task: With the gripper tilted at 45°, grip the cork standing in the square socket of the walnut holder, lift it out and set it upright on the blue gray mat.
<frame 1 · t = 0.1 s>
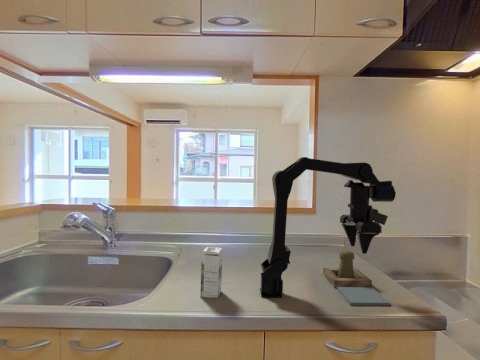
hand: (358, 249, 99), 15 cm above the counter, tool pointing down, fingers open, 9 cm apart
blue gray mat: (362, 296, 97), on the counter
walnut holder: (345, 280, 111), on the counter
syrup box: (211, 294, 97), on the counter
cork: (345, 281, 111), resting in walnut holder
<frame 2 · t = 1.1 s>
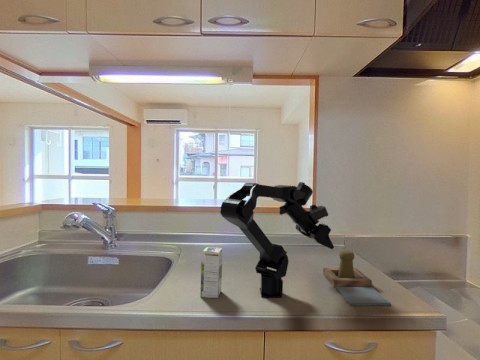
hand: (326, 245, 109), 13 cm above the counter, tool tilted 45°, fingers open, 9 cm apart
nothing on the counter moved.
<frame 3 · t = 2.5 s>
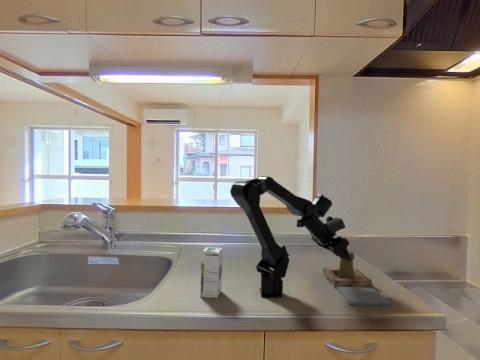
hand: (343, 256, 111), 9 cm above the counter, tool tilted 45°, fingers open, 9 cm apart
nothing on the counter moved.
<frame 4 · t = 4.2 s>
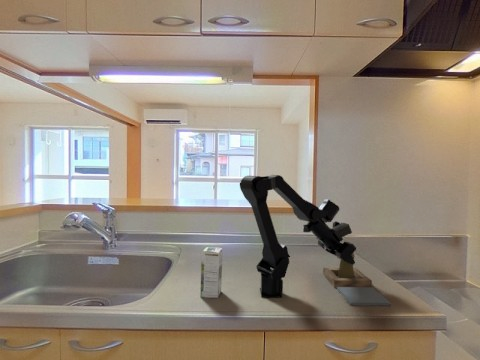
hand: (350, 261, 111), 7 cm above the counter, tool tilted 45°, fingers closed on cork, 5 cm apart
cork: (345, 281, 111), resting in walnut holder, touching gripper
everything else where it was.
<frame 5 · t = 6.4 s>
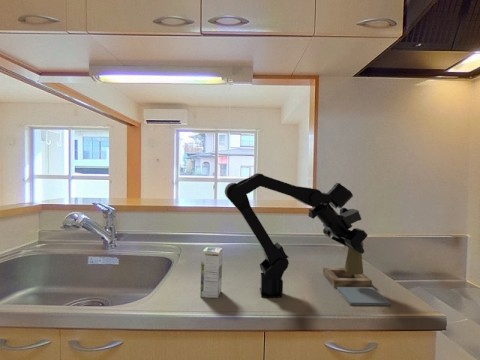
hand: (358, 250, 103), 13 cm above the counter, tool tilted 45°, fingers closed on cork, 5 cm apart
cork: (353, 271, 103), point 6 cm above the counter, touching gripper
everything else where it was.
when the fingers open (9 cm above the counter, at t = 8.6 s): cork drops 1 cm, resting on blue gray mat.
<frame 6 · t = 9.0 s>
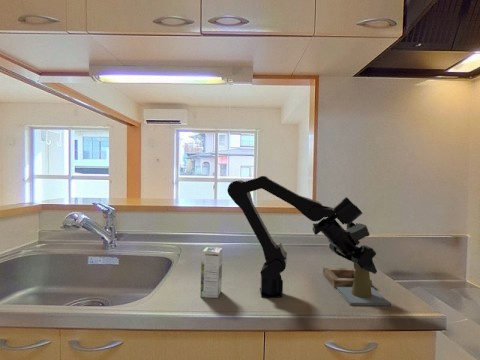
hand: (366, 267, 97), 9 cm above the counter, tool tilted 45°, fingers open, 9 cm apart
cork: (361, 294, 97), point 1 cm above the counter, touching blue gray mat
everything else where it was.
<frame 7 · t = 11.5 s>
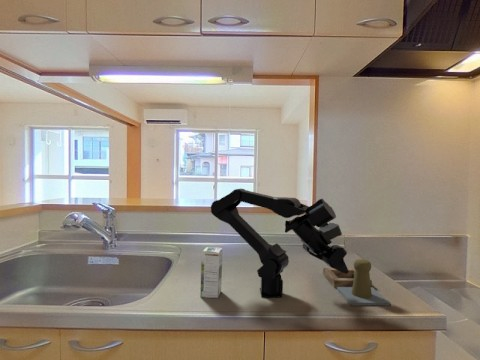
hand: (339, 267, 96), 10 cm above the counter, tool tilted 45°, fingers open, 9 cm apart
nothing on the counter moved.
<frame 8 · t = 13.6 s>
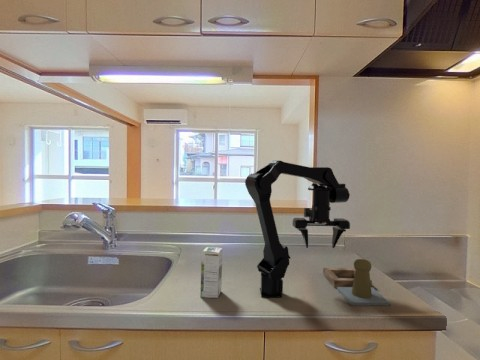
hand: (320, 247, 106), 13 cm above the counter, tool pointing down, fingers open, 9 cm apart
nothing on the counter moved.
at the end: cork inside the target area on the blue gray mat (0.2 cm from its centre), point 0.6 cm above the blue gray mat's base; cork tilted 0°; the gripper is holding nothing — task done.
